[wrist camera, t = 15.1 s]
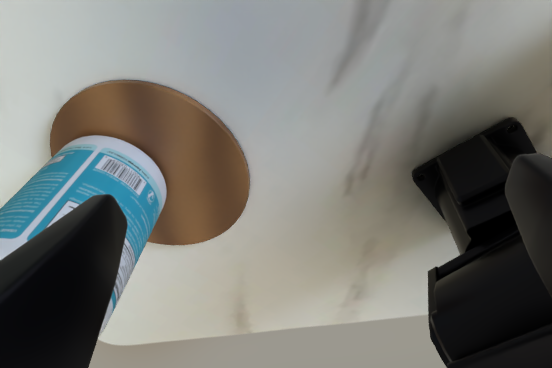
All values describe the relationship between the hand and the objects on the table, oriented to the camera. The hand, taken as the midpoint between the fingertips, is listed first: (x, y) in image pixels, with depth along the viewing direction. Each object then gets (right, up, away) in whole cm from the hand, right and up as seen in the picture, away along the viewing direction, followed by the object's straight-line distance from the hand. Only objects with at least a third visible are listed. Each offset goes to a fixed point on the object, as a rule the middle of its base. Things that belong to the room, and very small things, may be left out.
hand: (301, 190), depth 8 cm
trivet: (-9, +1, +17) cm, 19 cm away
